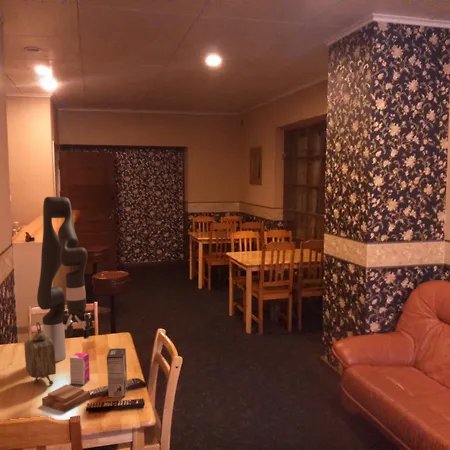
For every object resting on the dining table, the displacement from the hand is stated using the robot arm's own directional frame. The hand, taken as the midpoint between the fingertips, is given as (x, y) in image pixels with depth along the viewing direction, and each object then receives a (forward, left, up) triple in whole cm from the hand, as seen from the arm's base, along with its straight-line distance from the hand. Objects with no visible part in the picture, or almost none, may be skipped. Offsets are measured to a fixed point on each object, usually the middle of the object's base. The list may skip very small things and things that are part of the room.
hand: (78, 336), depth 203 cm
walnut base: (+8, -15, -19) cm, 26 cm away
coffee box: (+20, 0, -19) cm, 28 cm away
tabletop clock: (-15, -7, -19) cm, 26 cm away
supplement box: (0, 0, -19) cm, 19 cm away
